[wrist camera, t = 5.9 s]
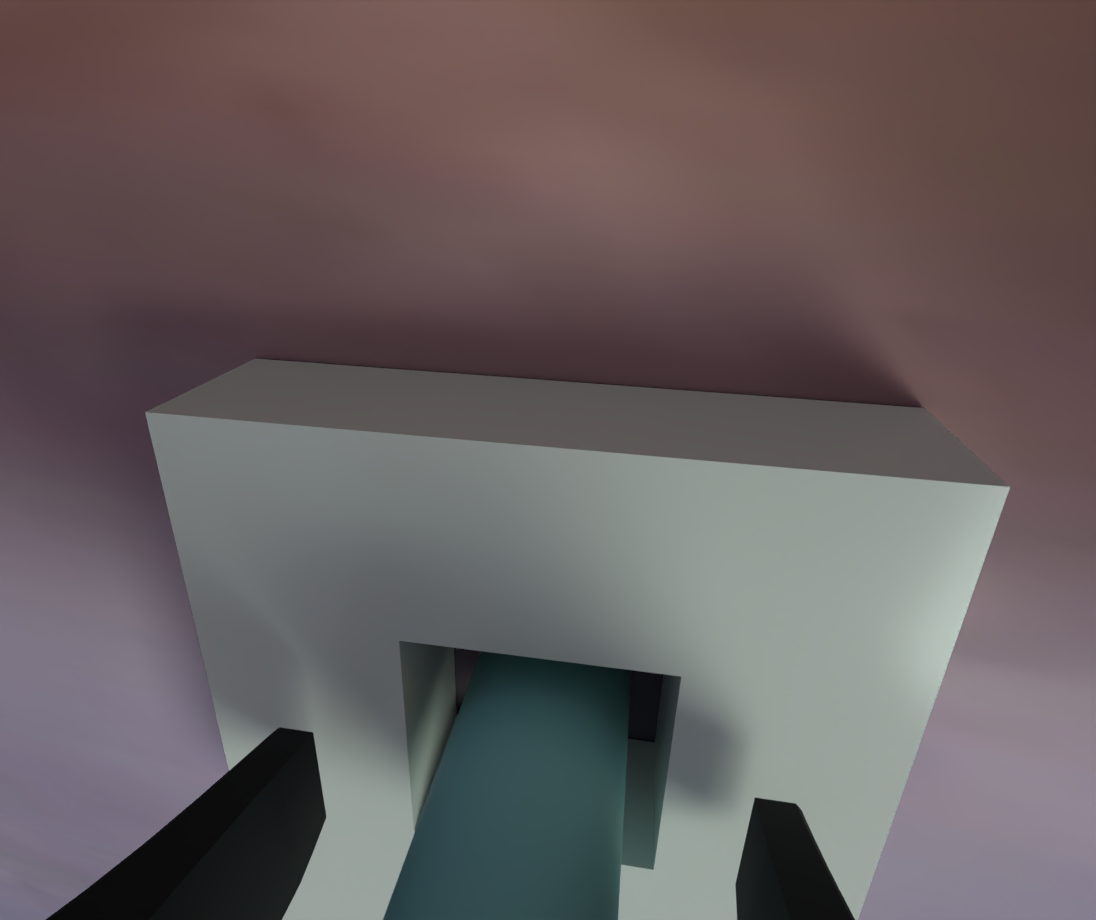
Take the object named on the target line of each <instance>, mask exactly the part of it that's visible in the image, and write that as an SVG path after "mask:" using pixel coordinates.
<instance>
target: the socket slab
mask: <svg viewBox="0 0 1096 920" xmlns="http://www.w3.org/2000/svg"><path fill="white" fill-rule="evenodd" d="M145 414H146V419H147V423H148V427H149V431H150V436H151V440H152V444H153V448H154V453H155V457H156V461H157V466H158V470H159V474H160V478H161V483H162V487H163V491H164V495H165V500H166V504H167V508H168V512H169V517H170V521H171V525H172V530H173V534H174V538H175V542H176V547H177V551H178V555H179V559H180V564H181V568H182V572H183V576H184V581H185V585H186V589H187V594H188V598H189V602H190V606H191V611H192V615H193V619H194V623H195V628H196V632H197V636H198V640H199V645H200V649H201V653H202V658H203V662H204V666H205V670H206V675H207V679H208V683H209V687H210V692H211V696H212V700H213V704H214V709H215V713H216V717H217V722H218V726H219V730H220V734H221V739H222V743H223V747H224V751H225V756H226V760H227V764H228V768H229V771H230V770H231V769H232V768H233V767H234V766H235V765H236V764H237V763H239V762H240V761H241V760H242V759H243V758H244V757H245V756H246V755H248V754H249V753H250V752H251V751H252V750H253V749H254V748H255V747H257V746H258V745H259V744H260V743H261V742H262V741H263V740H265V739H266V738H267V737H268V736H269V735H270V734H272V733H273V732H274V731H275V730H276V729H278V728H279V727H281V728H287V729H294V730H301V731H308V732H313V734H314V741H315V747H316V753H317V760H318V766H319V773H320V779H321V785H322V792H323V798H324V804H325V811H326V820H325V822H324V825H323V828H322V830H321V833H320V835H319V838H318V841H317V843H316V846H315V849H314V851H313V854H312V856H311V859H310V861H309V864H308V866H307V869H306V871H305V873H304V876H303V878H302V881H301V883H300V885H299V887H298V889H297V891H296V893H295V895H294V897H293V899H292V901H291V903H290V905H289V907H288V909H287V911H286V913H285V915H284V917H283V919H282V920H383V918H384V915H385V913H386V910H387V907H388V904H389V902H390V899H391V896H392V893H393V891H394V888H395V885H396V883H397V880H398V877H399V874H400V872H401V869H402V866H403V863H404V861H405V858H406V855H407V852H408V850H409V847H410V844H411V841H412V839H413V836H414V833H415V830H416V828H417V825H418V822H419V820H420V817H421V814H422V811H423V809H424V806H425V803H426V800H427V798H428V795H429V792H430V789H431V787H432V784H433V781H434V778H435V776H436V773H437V770H438V768H439V765H440V762H441V759H442V757H443V754H444V751H445V748H446V746H447V743H448V740H449V737H450V735H451V732H452V729H453V726H454V724H455V721H456V718H457V716H458V715H457V714H456V687H455V660H454V648H460V649H468V650H476V651H484V652H492V653H500V654H508V655H516V656H523V657H531V658H539V659H547V660H555V661H563V662H571V663H578V664H586V665H594V666H602V667H610V668H618V669H626V670H634V671H641V672H649V673H657V674H663V681H662V689H661V697H660V705H659V712H658V720H657V728H656V736H655V742H649V741H641V740H634V739H628V747H627V765H626V783H625V802H624V820H623V838H622V857H621V875H620V893H619V912H618V920H737V906H736V886H735V884H736V879H737V875H738V870H739V866H740V861H741V857H742V852H743V848H744V843H745V839H746V834H747V830H748V825H749V821H750V816H751V812H752V808H753V803H754V799H755V798H762V799H769V800H775V801H782V802H789V803H796V804H797V805H798V807H799V808H800V809H801V810H802V812H803V814H804V817H805V819H806V821H807V823H808V826H809V828H810V830H811V832H812V834H813V836H814V839H815V841H816V843H817V845H818V847H819V849H820V851H821V853H822V856H823V858H824V860H825V862H826V864H827V866H828V868H829V870H830V872H831V874H832V876H833V878H834V880H835V882H836V884H837V886H838V888H839V890H840V892H841V893H842V895H843V897H844V899H845V901H846V903H847V905H848V907H849V909H850V911H851V913H852V915H853V917H854V918H855V920H858V918H859V915H860V912H861V909H862V907H863V904H864V901H865V898H866V895H867V892H868V890H869V887H870V884H871V881H872V878H873V875H874V873H875V870H876V867H877V864H878V861H879V858H880V855H881V853H882V850H883V847H884V844H885V841H886V838H887V836H888V833H889V830H890V827H891V824H892V821H893V818H894V816H895V813H896V810H897V807H898V804H899V801H900V799H901V796H902V793H903V790H904V787H905V784H906V782H907V779H908V776H909V773H910V770H911V767H912V764H913V762H914V759H915V756H916V753H917V750H918V747H919V745H920V742H921V739H922V736H923V733H924V730H925V728H926V725H927V722H928V719H929V716H930V713H931V710H932V708H933V705H934V702H935V699H936V696H937V693H938V691H939V688H940V685H941V682H942V679H943V676H944V673H945V671H946V668H947V665H948V662H949V659H950V656H951V654H952V651H953V648H954V645H955V642H956V639H957V637H958V634H959V631H960V628H961V625H962V622H963V619H964V617H965V614H966V611H967V608H968V605H969V602H970V600H971V597H972V594H973V591H974V588H975V585H976V583H977V580H978V577H979V574H980V571H981V568H982V565H983V563H984V560H985V557H986V554H987V551H988V548H989V546H990V543H991V540H992V537H993V534H994V531H995V528H996V526H997V523H998V520H999V517H1000V514H1001V511H1002V509H1003V506H1004V503H1005V500H1006V497H1007V494H1008V492H1009V489H1010V487H1009V486H1008V485H1007V484H1006V483H1005V482H1004V481H1003V480H1002V479H1001V478H1000V477H999V476H998V475H996V474H995V473H994V472H993V471H992V470H991V469H990V468H989V467H988V466H987V465H986V464H985V463H984V462H982V461H981V460H980V459H979V458H978V457H977V456H976V455H975V454H974V453H973V452H972V451H971V450H969V449H968V448H967V447H966V446H965V445H964V444H963V443H962V442H961V441H960V440H959V439H958V438H957V437H955V436H954V435H953V434H952V433H951V432H950V431H949V430H948V429H947V428H946V427H945V426H944V425H943V424H941V423H940V422H939V421H938V420H937V419H936V418H935V417H934V416H933V415H932V414H931V413H930V412H928V411H927V410H926V409H925V408H917V407H903V406H890V405H876V404H863V403H849V402H835V401H822V400H808V399H795V398H781V397H768V396H754V395H741V394H727V393H714V392H700V391H687V390H673V389H659V388H646V387H632V386H619V385H605V384H592V383H578V382H565V381H551V380H538V379H524V378H511V377H497V376H483V375H470V374H456V373H443V372H429V371H416V370H402V369H389V368H375V367H362V366H348V365H335V364H321V363H308V362H294V361H280V360H267V359H253V360H251V361H249V362H247V363H245V364H243V365H241V366H239V367H237V368H235V369H233V370H231V371H229V372H227V373H225V374H222V375H220V376H218V377H216V378H214V379H212V380H210V381H208V382H206V383H204V384H202V385H200V386H198V387H196V388H194V389H192V390H190V391H188V392H185V393H183V394H181V395H179V396H177V397H175V398H173V399H171V400H169V401H167V402H165V403H163V404H161V405H159V406H157V407H155V408H153V409H151V410H148V411H146V412H145Z"/></svg>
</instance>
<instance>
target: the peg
mask: <svg viewBox="0 0 1096 920" xmlns="http://www.w3.org/2000/svg"><path fill="white" fill-rule="evenodd" d="M631 673H632V670H626V669H618V668H610V667H602V666H594V665H586V664H578V663H571V662H563V661H555V660H547V659H539V658H531V657H523V656H516V655H508V654H500V653H492V652H484V651H481V653H480V655H479V658H478V661H477V664H476V666H475V669H474V672H473V674H472V677H471V680H470V683H469V685H468V688H467V691H466V694H465V696H464V699H463V702H462V705H461V707H460V710H459V713H458V716H457V718H456V721H455V724H454V726H453V729H452V732H451V735H450V737H449V740H448V743H447V746H446V748H445V751H444V754H443V757H442V759H441V762H440V765H439V768H438V770H437V773H436V776H435V778H434V781H433V784H432V787H431V789H430V792H429V795H428V798H427V800H426V803H425V806H424V809H423V811H422V814H421V817H420V820H419V822H418V825H417V828H416V830H415V833H414V836H413V839H412V841H411V844H410V847H409V850H408V852H407V855H406V858H405V861H404V863H403V866H402V869H401V872H400V874H399V877H398V880H397V883H396V885H395V888H394V891H393V893H392V896H391V899H390V902H389V904H388V907H387V910H386V913H385V915H384V918H383V920H618V912H619V893H620V875H621V857H622V838H623V820H624V802H625V783H626V765H627V747H628V728H629V710H630V692H631Z"/></svg>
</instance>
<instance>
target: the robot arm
mask: <svg viewBox="0 0 1096 920" xmlns="http://www.w3.org/2000/svg"><path fill="white" fill-rule="evenodd" d="M325 820H326V811H325V804H324V798H323V792H322V785H321V779H320V773H319V766H318V760H317V753H316V747H315V741H314V734H313V732H308V731H301V730H294V729H287V728H281V727H279V728H278V729H276V730H275V731H274V732H273V733H272V734H270V735H269V736H268V737H267V738H266V739H265V740H263V741H262V742H261V743H260V744H259V745H258V746H257V747H255V748H254V749H253V750H252V751H251V752H250V753H249V754H248V755H246V756H245V757H244V758H243V759H242V760H241V761H240V762H239V763H237V764H236V765H235V766H234V767H233V768H232V769H231V770H230V771H228V772H227V773H226V774H225V775H224V776H223V777H222V778H220V779H219V780H218V781H217V782H216V783H215V784H214V785H212V786H211V787H210V788H209V789H208V790H207V791H206V792H204V793H203V794H202V795H201V796H200V797H199V798H198V799H196V800H195V801H194V802H193V803H192V804H191V805H189V806H188V807H187V808H186V809H185V810H183V811H182V812H181V813H180V814H179V815H178V816H176V817H175V818H174V819H173V820H172V821H170V822H169V823H168V824H167V825H166V826H165V827H163V828H162V829H161V830H160V831H159V832H158V833H156V834H155V835H154V836H153V837H152V838H150V839H149V840H148V841H147V842H145V843H144V844H143V845H142V846H141V847H139V848H138V849H137V850H136V851H134V852H133V853H132V854H131V855H129V856H128V857H127V858H125V859H124V860H123V861H122V862H120V863H119V864H118V865H117V866H115V867H114V868H113V869H112V870H110V871H109V872H108V873H106V874H105V875H104V876H103V877H101V878H100V879H99V880H98V881H96V882H95V883H94V884H93V885H91V886H90V887H89V888H88V889H86V890H85V891H84V892H82V893H81V894H80V895H78V896H77V897H76V898H74V899H73V900H72V901H70V902H69V903H68V904H66V905H65V906H64V907H62V908H61V909H60V910H58V911H57V912H55V913H54V914H53V915H51V916H50V917H49V918H47V919H46V920H282V919H283V917H284V915H285V913H286V911H287V909H288V907H289V905H290V903H291V901H292V899H293V897H294V895H295V893H296V891H297V889H298V887H299V885H300V883H301V881H302V878H303V876H304V873H305V871H306V869H307V866H308V864H309V861H310V859H311V856H312V854H313V851H314V849H315V846H316V843H317V841H318V838H319V835H320V833H321V830H322V828H323V825H324V822H325ZM735 886H736V906H737V920H855V918H854V917H853V915H852V913H851V911H850V909H849V907H848V905H847V903H846V901H845V899H844V897H843V895H842V893H841V892H840V890H839V888H838V886H837V884H836V882H835V880H834V878H833V876H832V874H831V872H830V870H829V868H828V866H827V864H826V862H825V860H824V858H823V856H822V853H821V851H820V849H819V847H818V845H817V843H816V841H815V839H814V836H813V834H812V832H811V830H810V828H809V826H808V823H807V821H806V819H805V817H804V814H803V812H802V810H801V809H800V808H799V807H798V805H797V804H796V803H789V802H782V801H775V800H769V799H762V798H755V799H754V803H753V808H752V812H751V816H750V821H749V825H748V830H747V834H746V839H745V843H744V848H743V852H742V857H741V861H740V866H739V870H738V875H737V879H736V884H735Z"/></svg>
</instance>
